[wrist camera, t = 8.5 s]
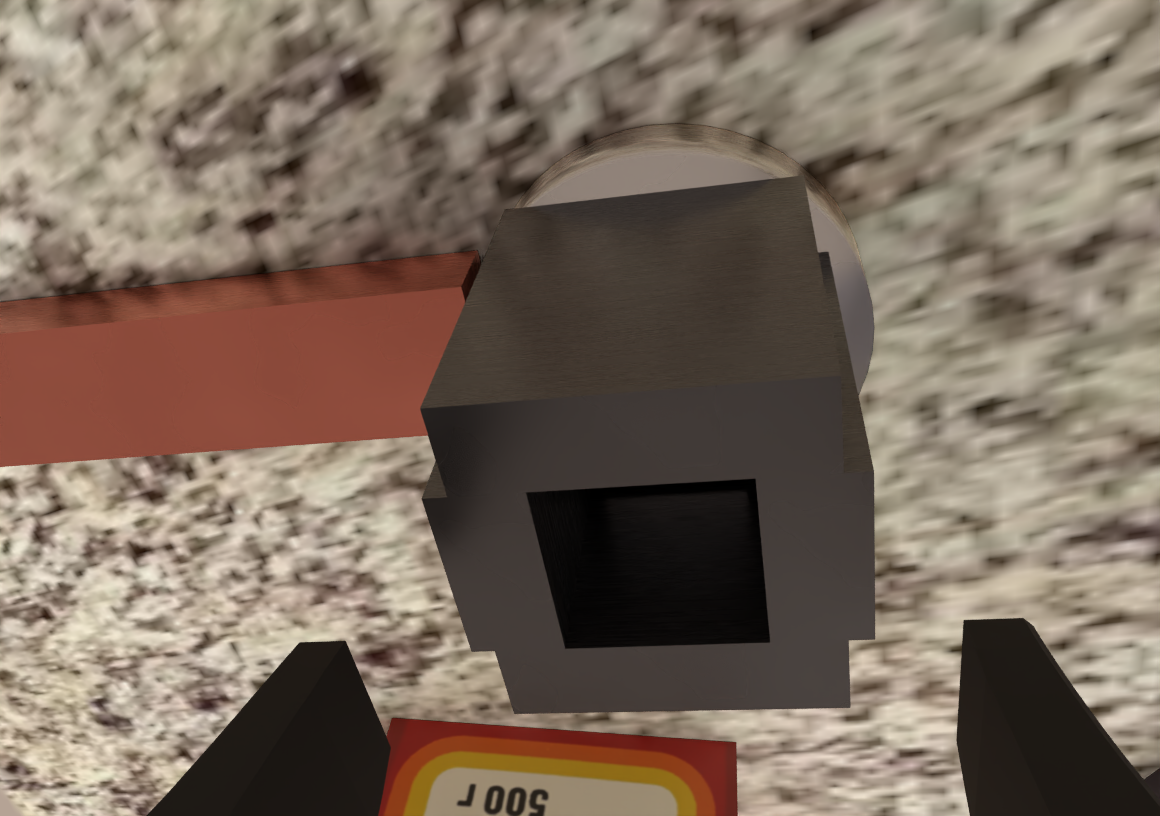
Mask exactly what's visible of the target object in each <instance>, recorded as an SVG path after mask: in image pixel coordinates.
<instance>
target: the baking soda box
mask: <svg viewBox="0 0 1160 816" xmlns="http://www.w3.org/2000/svg"><path fill="white" fill-rule="evenodd" d="M386 737H387V739H388V742H389V744H390V747H391V751H390V756H389V762H388V768H387V773H386V779H385V784H384V790H383V795H382V800H381V805H380V810H379V815H378V816H738V813H737V760H736V742H723V741H709V740H695V739H681V738H667V737H653V736H639V735H625V734H611V733H597V732H583V731H568V730H554V729H540V728H526V727H512V726H498V725H484V724H470V723H456V722H442V721H428V720H414V719H400V718H392V721H391V724H390V727H389V730H388V733H387V736H386Z"/></svg>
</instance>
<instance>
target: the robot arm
mask: <svg viewBox="0 0 1160 816" xmlns="http://www.w3.org/2000/svg"><path fill="white" fill-rule="evenodd" d="M957 746H958V752H959V758H960V763H961V769H962V775H963V780H964V786H965V791H966V797H967V802H968V807H969V813H970V816H1160V799H1159V798H1158V797H1157V796H1156V794H1155V793H1154V792H1153V791H1152V790H1151V788H1150V787H1149V786H1148V785H1147V783H1146V782H1145V781H1144V780H1143V778H1142V777H1141V776H1140V775H1139V773H1138V772H1137V771H1136V770H1135V768H1134V767H1133V766H1132V765H1131V763H1130V762H1129V761H1128V760H1127V758H1126V757H1125V756H1124V755H1123V753H1122V752H1121V751H1120V749H1119V748H1118V747H1117V745H1116V744H1115V743H1114V742H1113V740H1112V739H1111V738H1110V736H1109V735H1108V734H1107V732H1106V731H1105V730H1104V728H1103V727H1102V726H1101V724H1100V723H1099V722H1098V720H1097V719H1096V717H1095V716H1094V715H1093V713H1092V712H1091V711H1090V709H1089V708H1088V706H1087V705H1086V704H1085V702H1084V701H1083V700H1082V698H1081V697H1080V696H1079V694H1078V693H1077V691H1076V690H1075V688H1074V687H1073V686H1072V684H1071V683H1070V681H1069V680H1068V678H1067V677H1066V676H1065V674H1064V673H1063V671H1062V670H1061V668H1060V667H1059V665H1058V664H1057V662H1056V661H1055V659H1054V658H1053V656H1052V655H1051V653H1050V652H1049V650H1048V649H1047V647H1046V645H1045V644H1044V642H1043V641H1042V639H1041V638H1040V636H1039V634H1038V633H1037V631H1036V630H1035V628H1034V626H1033V625H1032V624H1030V623H1029V622H1028V621H1026V620H1025V619H1024V618H1013V619H983V620H964V625H963V641H962V658H961V675H960V691H959V708H958V725H957ZM390 751H391V747H390V744H389V742H388V739H387V737H386V735H385V732H384V730H383V728H382V725H381V723H380V721H379V718H378V716H377V714H376V711H375V709H374V707H373V704H372V702H371V700H370V697H369V695H368V692H367V690H366V688H365V685H364V683H363V681H362V678H361V676H360V674H359V671H358V669H357V667H356V664H355V662H354V660H353V657H352V655H351V653H350V650H349V648H348V646H347V643H346V641H330V642H300V643H299V644H298V645H297V646H296V647H295V648H294V649H293V651H292V652H291V653H290V654H289V655H288V656H287V657H286V658H285V660H284V661H283V662H282V663H281V664H280V665H279V667H278V668H277V669H276V670H275V671H274V672H273V673H272V675H271V676H270V677H269V678H268V679H267V680H266V682H265V683H264V684H263V685H262V686H261V687H260V688H259V690H258V691H257V692H256V693H255V694H254V695H253V697H252V698H251V699H250V700H249V701H248V702H247V704H246V705H245V706H244V707H243V708H242V709H241V711H240V712H239V713H238V714H237V715H236V716H235V718H234V719H233V720H232V721H231V722H230V723H229V724H228V726H227V727H226V728H225V729H224V730H223V731H222V733H221V734H220V735H219V736H218V737H217V738H216V740H215V741H214V742H213V743H212V744H211V745H210V746H209V747H208V749H207V750H206V751H205V752H204V753H203V754H202V755H201V756H200V758H199V759H198V760H197V761H196V762H195V763H194V764H193V765H192V767H191V768H190V769H189V770H188V771H187V772H186V773H185V774H184V776H183V777H182V778H181V779H180V780H179V781H178V782H177V783H176V785H175V786H174V787H173V788H172V789H171V790H170V791H169V792H168V793H167V795H166V796H165V797H164V798H163V799H162V800H161V801H160V802H159V803H158V804H157V805H156V806H155V807H154V808H153V809H152V810H151V811H150V812H149V814H148V815H147V816H378V815H379V810H380V805H381V800H382V795H383V790H384V784H385V779H386V773H387V768H388V762H389V756H390Z"/></svg>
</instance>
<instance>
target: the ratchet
mask: <svg viewBox="0 0 1160 816" xmlns="http://www.w3.org/2000/svg"><path fill="white" fill-rule="evenodd" d="M801 175H804V180H805V185H806V191H807V196H808V201H809V207H810V212H811V217H812V223H813V228H814V233H815V239H816V244H817V250H818V252H829V257H830V261H831V266H832V271H833V276H834V281H835V286H836V290H837V295H838V300H839V305H840V310H841V315H842V319H843V324H844V329H845V334H846V339H847V344H848V348H849V353H850V358H851V363H852V368H853V373H854V377H855V382H856V387H857V392H858V395H859V393H860V391H861V388H862V386H863V383H864V381H865V378H866V375H867V373H868V369H869V364H870V360H871V356H872V351H873V339H874V318H873V307H872V301H871V297H870V293H869V289H868V285H867V281H866V277H865V273H864V270H863V266H862V262H861V258H860V254H859V251H858V247H857V243H856V241H855V238H854V236H853V233H852V231H851V229H850V226H849V224H848V222H847V220H846V218H845V217H844V215H843V213H842V212H841V210H840V208H839V207H838V205H837V204H836V202H835V200H834V199H833V198H832V197H831V196H830V194H829V193H828V192H827V191H826V190H825V188H824V187H823V186H822V185H821V184H820V182H818V181H817V180H816V179H815V178H814V177H813V176H812V175H811V174H810V173H808V172H807V171H806V170H805V169H804V168H803V167H802V166H801V165H799V164H798V163H796V162H795V161H793V160H792V159H790V158H789V157H787V156H786V155H784V154H783V153H781V152H780V151H778V150H776V149H774V148H772V147H770V146H768V145H766V144H764V143H762V142H760V141H758V140H756V139H753V138H750V137H747V136H744V135H741V134H738V133H735V132H732V131H729V130H724V129H719V128H713V127H708V126H703V125H688V124H665V125H649V126H644V127H639V128H634V129H629V130H624V131H621V132H618V133H615V134H612V135H609V136H606V137H603V138H600V139H597V140H595V141H593V142H591V143H589V144H587V145H585V146H583V147H581V148H579V149H577V150H575V151H573V152H572V153H570V154H569V155H567V156H566V157H564V158H563V159H561V160H560V161H558V162H557V163H555V164H554V165H553V166H552V167H550V168H549V169H548V170H547V171H546V172H545V173H544V174H543V175H541V176H540V177H539V178H538V179H537V180H536V181H535V182H534V183H533V184H532V186H531V187H530V188H529V189H528V190H527V191H526V193H525V194H524V195H523V196H522V197H521V199H520V200H519V202H518V203H517V205H516V207H515V208H524V207H532V206H541V205H550V204H558V203H567V202H576V201H584V200H593V199H602V198H610V197H619V196H628V195H636V194H645V193H654V192H662V191H671V190H680V189H688V188H697V187H706V186H714V185H723V184H732V183H741V182H749V181H758V180H767V179H775V178H784V177H792V176H801ZM515 208H514V209H515ZM480 267H481V263H480V259H479V255H478V251H468V252H459V253H450V254H441V255H431V256H422V257H413V258H404V259H395V260H385V261H376V262H367V263H358V264H349V265H339V266H330V267H321V268H312V269H303V270H293V271H284V272H275V273H266V274H257V275H247V276H238V277H229V278H220V279H211V280H201V281H192V282H183V283H174V284H165V285H155V286H146V287H137V288H128V289H119V290H109V291H100V292H91V293H82V294H73V295H63V296H54V297H45V298H36V299H27V300H17V301H8V302H0V467H5V466H19V465H32V464H46V463H60V462H73V461H87V460H100V459H114V458H127V457H141V456H155V455H168V454H182V453H195V452H209V451H223V450H236V449H250V448H263V447H277V446H291V445H304V444H318V443H331V442H345V441H359V440H372V439H386V438H399V437H413V436H427V435H428V433H427V430H426V427H425V424H424V420H423V417H422V414H421V411H420V407H421V405H422V403H423V400H424V398H425V396H426V393H427V391H428V389H429V386H430V384H431V381H432V379H433V377H434V374H435V372H436V370H437V367H438V365H439V363H440V360H441V358H442V356H443V353H444V351H445V349H446V346H447V344H448V342H449V339H450V337H451V335H452V332H453V330H454V328H455V325H456V323H457V321H458V318H459V316H460V314H461V311H462V309H463V307H464V304H465V302H466V300H467V297H468V295H469V293H470V290H471V288H472V286H473V283H474V281H475V279H476V276H477V274H478V272H479V269H480Z"/></svg>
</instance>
